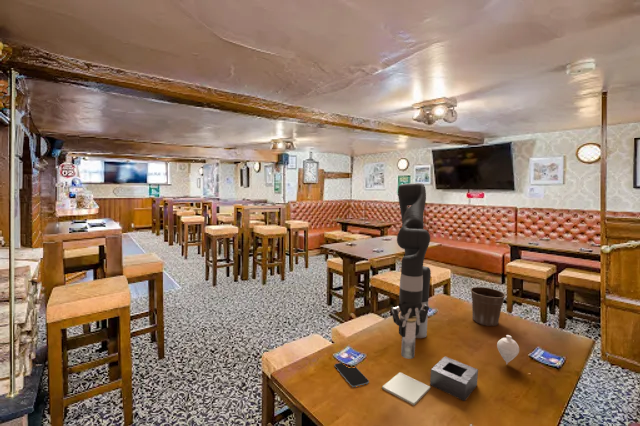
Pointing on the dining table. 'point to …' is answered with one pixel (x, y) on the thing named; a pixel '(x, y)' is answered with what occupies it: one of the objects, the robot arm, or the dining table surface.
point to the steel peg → (409, 338)
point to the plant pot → (486, 305)
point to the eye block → (454, 378)
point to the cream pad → (406, 388)
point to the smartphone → (352, 375)
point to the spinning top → (508, 348)
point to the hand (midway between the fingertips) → (408, 335)
